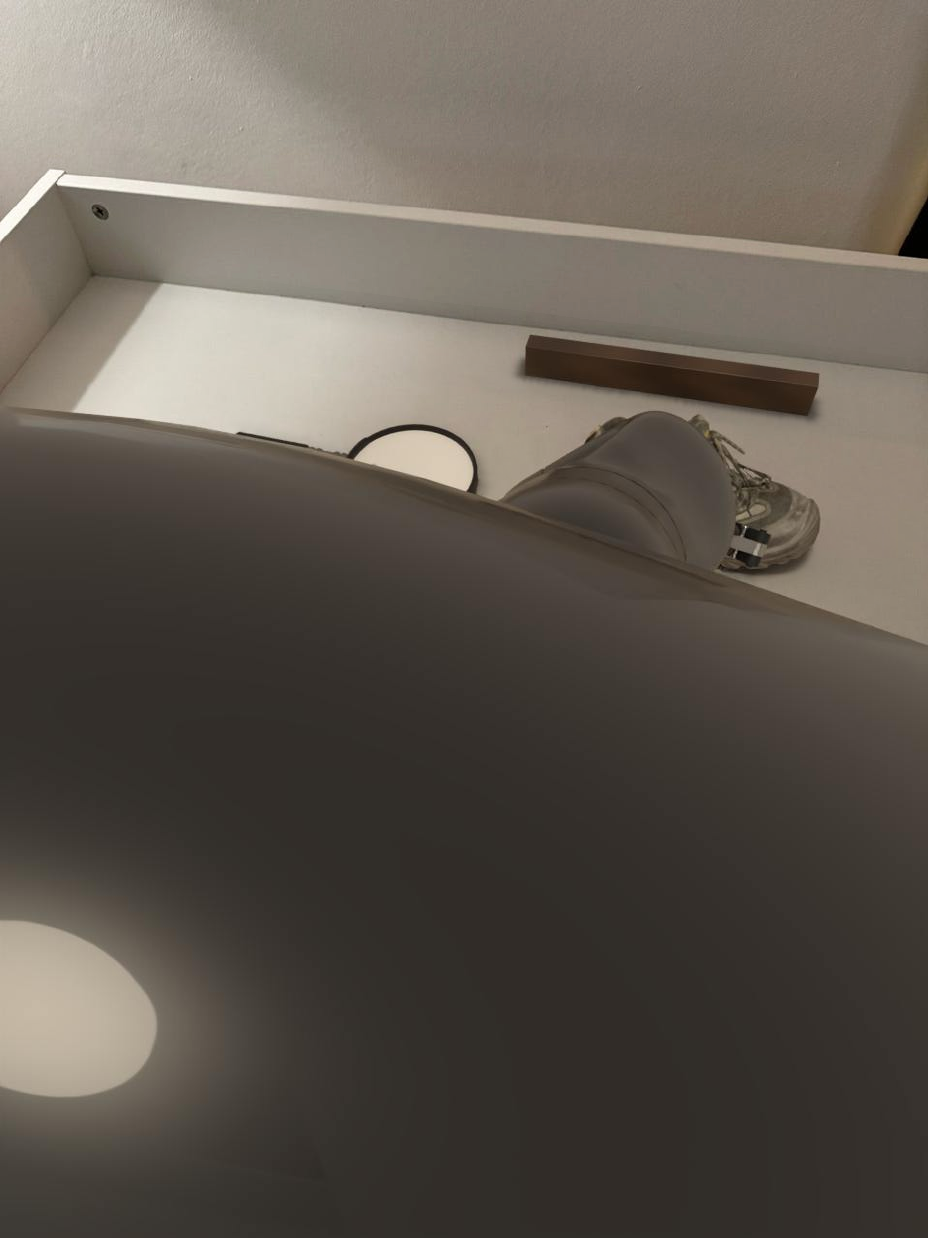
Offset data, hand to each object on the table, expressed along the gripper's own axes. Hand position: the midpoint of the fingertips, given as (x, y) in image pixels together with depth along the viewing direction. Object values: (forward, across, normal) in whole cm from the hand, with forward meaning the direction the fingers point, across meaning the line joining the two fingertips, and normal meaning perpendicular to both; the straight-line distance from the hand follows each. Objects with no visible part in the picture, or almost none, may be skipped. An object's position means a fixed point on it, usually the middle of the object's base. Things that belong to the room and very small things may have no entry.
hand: (693, 521), depth 68 cm
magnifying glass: (0, -31, -6) cm, 32 cm away
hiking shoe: (+6, -1, -1) cm, 6 cm away
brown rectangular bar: (+17, -9, +11) cm, 22 cm away
